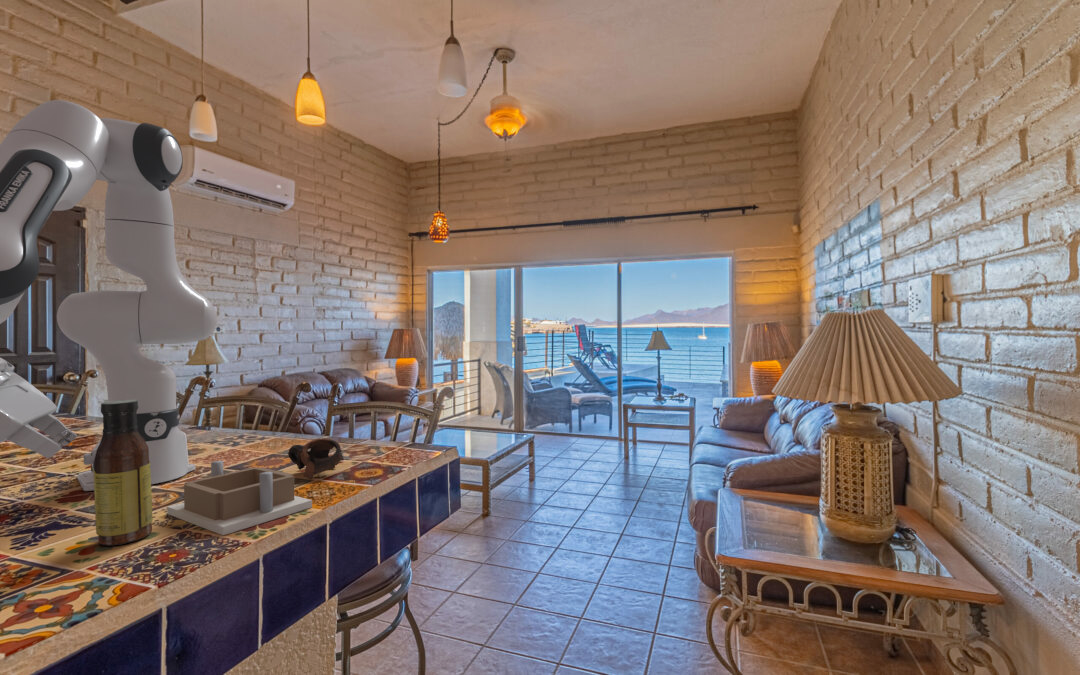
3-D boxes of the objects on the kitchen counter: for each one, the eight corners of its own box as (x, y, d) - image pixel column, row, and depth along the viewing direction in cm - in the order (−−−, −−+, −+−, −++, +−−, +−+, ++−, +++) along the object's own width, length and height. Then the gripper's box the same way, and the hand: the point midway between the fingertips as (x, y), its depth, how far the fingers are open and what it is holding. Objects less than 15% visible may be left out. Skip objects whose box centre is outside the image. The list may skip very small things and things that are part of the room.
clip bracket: (167, 513, 81) (167, 470, 81) (254, 491, 93) (253, 453, 93) (223, 535, 72) (222, 485, 72) (312, 507, 83) (311, 464, 84)
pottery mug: (349, 468, 112) (351, 439, 108) (330, 498, 103) (331, 468, 100) (297, 455, 111) (297, 426, 108) (273, 484, 103) (273, 454, 99)
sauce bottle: (134, 528, 75) (134, 397, 75) (163, 533, 73) (162, 398, 73) (82, 545, 69) (81, 402, 69) (111, 551, 66) (110, 404, 67)
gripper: (-50, 362, 54) (71, 440, 60) (7, 358, 71) (98, 419, 77) (-114, 406, 52) (19, 483, 57) (-39, 391, 69) (58, 452, 74)
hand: (64, 446), depth 67 cm, fingers open, 8 cm apart
